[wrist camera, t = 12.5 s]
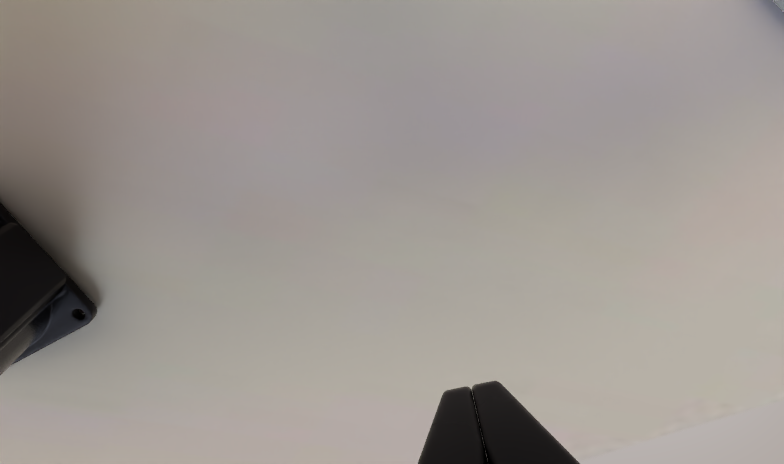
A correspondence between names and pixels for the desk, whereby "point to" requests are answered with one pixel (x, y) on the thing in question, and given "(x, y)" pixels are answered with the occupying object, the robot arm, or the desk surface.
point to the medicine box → (779, 4)
